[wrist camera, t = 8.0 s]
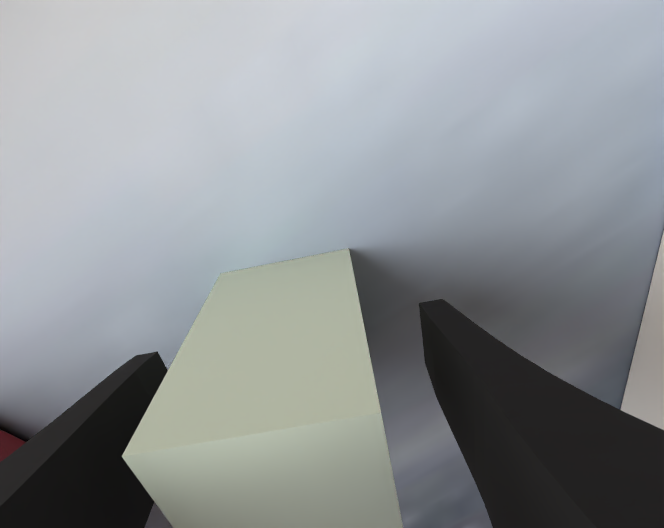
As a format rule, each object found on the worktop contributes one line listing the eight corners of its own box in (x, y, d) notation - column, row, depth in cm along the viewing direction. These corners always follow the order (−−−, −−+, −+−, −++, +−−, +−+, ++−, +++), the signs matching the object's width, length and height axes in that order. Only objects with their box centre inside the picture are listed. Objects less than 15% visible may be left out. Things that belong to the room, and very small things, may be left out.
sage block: (368, 350, 12) (407, 553, 7) (258, 370, 12) (212, 581, 7) (348, 248, 10) (381, 413, 5) (220, 273, 11) (121, 456, 5)
